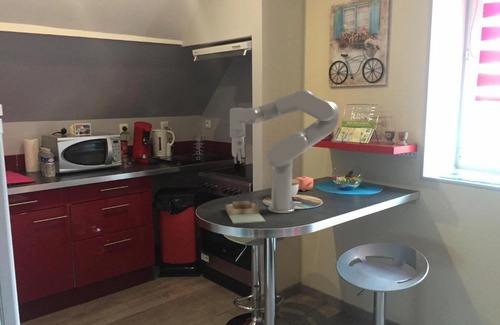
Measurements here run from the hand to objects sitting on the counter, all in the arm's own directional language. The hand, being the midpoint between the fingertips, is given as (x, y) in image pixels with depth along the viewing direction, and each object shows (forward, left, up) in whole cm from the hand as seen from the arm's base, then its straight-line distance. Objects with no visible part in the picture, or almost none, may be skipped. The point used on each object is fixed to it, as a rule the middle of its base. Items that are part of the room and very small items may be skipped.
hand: (237, 171), depth 207 cm
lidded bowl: (-29, -14, -18) cm, 37 cm away
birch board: (0, +11, -18) cm, 21 cm away
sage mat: (0, +22, -18) cm, 28 cm away
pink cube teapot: (-44, -29, -18) cm, 56 cm away
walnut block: (0, +11, -15) cm, 18 cm away
